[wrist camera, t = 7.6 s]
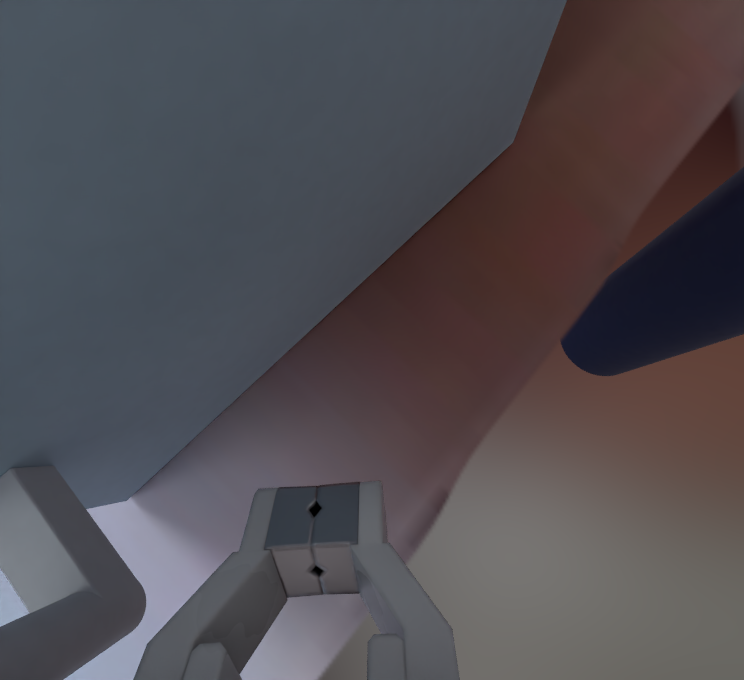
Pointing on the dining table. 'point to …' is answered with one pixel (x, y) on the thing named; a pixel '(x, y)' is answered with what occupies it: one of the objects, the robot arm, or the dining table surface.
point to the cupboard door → (201, 235)
